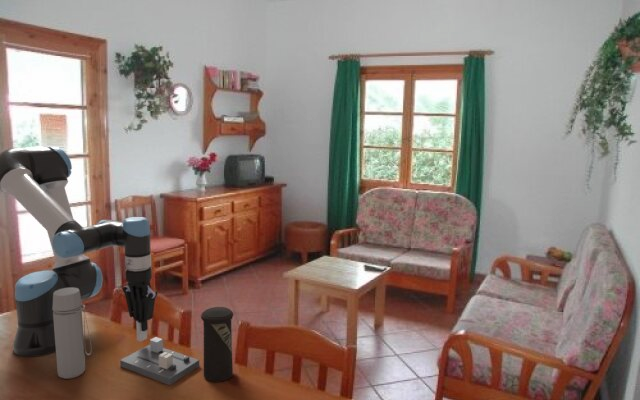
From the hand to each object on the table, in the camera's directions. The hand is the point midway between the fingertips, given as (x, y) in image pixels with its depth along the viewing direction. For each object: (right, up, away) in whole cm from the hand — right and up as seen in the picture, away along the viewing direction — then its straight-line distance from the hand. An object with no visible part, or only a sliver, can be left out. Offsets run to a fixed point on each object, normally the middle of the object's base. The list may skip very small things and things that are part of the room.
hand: (142, 339), depth 151 cm
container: (+26, -7, -11) cm, 30 cm away
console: (+8, -6, -7) cm, 13 cm away
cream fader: (+11, -4, -12) cm, 17 cm away
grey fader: (+5, -3, -2) cm, 7 cm away
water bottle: (-15, -6, -12) cm, 20 cm away
